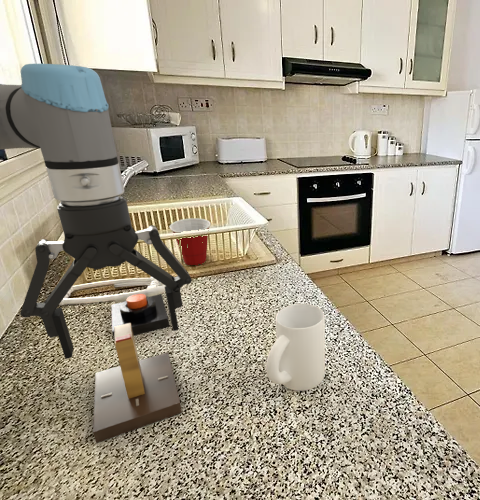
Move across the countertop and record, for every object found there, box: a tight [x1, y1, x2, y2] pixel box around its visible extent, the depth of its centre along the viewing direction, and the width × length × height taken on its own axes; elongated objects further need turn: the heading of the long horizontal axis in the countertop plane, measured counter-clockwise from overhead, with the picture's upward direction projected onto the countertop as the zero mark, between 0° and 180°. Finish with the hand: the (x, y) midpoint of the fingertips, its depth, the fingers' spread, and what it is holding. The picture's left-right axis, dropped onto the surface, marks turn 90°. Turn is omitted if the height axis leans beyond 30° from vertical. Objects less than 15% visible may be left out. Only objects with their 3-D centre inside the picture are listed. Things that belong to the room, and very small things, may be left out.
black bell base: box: [110, 293, 171, 341], centre depth 80 cm, size 12×10×4 cm
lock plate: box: [92, 352, 183, 444], centre depth 59 cm, size 14×11×2 cm
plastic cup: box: [168, 217, 212, 266], centre depth 107 cm, size 11×11×12 cm
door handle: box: [58, 276, 166, 306], centre depth 89 cm, size 3×10×25 cm
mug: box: [265, 303, 326, 392], centre depth 61 cm, size 8×12×12 cm
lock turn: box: [114, 323, 145, 399], centre depth 57 cm, size 5×2×10 cm, turn 31°
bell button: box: [126, 294, 147, 309], centre depth 79 cm, size 4×4×2 cm
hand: (125, 339), depth 55 cm, fingers open, 13 cm apart
